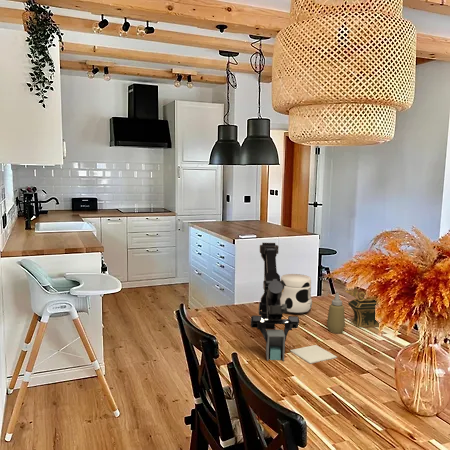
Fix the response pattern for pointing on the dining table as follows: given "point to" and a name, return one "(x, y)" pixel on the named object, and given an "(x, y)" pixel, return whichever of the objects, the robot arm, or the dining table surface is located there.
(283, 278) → the cream spotted cookie jar
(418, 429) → the dining table surface
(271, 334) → the charcoal hood
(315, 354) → the cream square tile
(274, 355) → the teal cube
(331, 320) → the squeeze bottle
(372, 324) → the decorative box
